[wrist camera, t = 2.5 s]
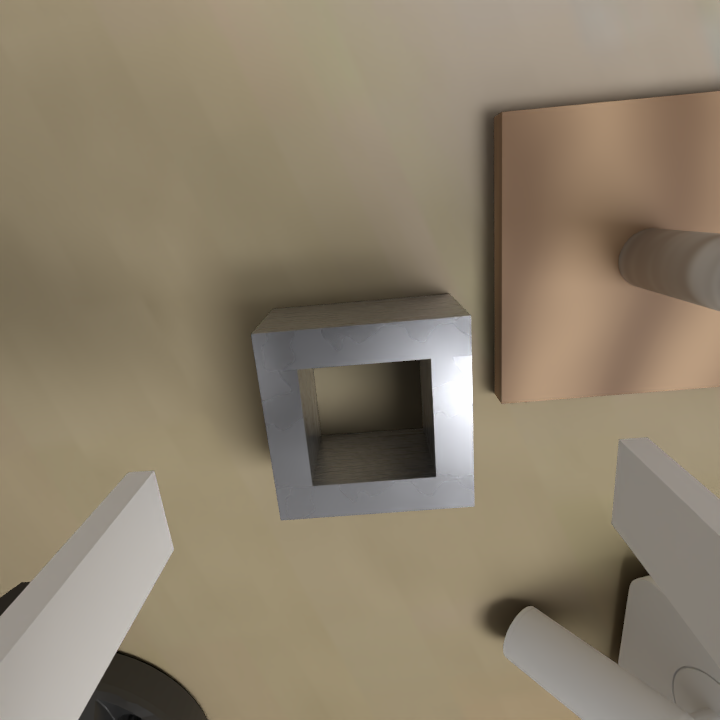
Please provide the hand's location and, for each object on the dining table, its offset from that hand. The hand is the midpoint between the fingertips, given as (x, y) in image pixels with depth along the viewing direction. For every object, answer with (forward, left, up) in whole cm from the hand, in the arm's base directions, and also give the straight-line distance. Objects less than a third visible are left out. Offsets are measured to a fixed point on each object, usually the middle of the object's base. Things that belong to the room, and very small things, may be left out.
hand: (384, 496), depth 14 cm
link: (0, 0, -10) cm, 10 cm away
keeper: (+12, +5, -10) cm, 16 cm away
